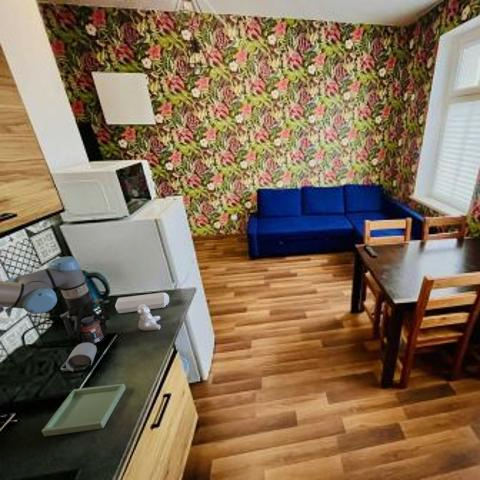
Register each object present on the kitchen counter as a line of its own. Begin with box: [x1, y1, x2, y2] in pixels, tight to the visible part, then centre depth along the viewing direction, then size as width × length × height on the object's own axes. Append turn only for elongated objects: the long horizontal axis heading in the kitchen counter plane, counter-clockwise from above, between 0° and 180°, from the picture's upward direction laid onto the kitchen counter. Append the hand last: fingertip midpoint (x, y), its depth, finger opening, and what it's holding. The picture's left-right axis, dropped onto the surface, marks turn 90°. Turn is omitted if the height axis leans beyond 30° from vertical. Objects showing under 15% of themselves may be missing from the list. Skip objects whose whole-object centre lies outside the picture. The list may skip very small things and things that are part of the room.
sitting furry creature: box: [136, 304, 162, 332], centre depth 119 cm, size 10×9×12 cm
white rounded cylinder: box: [114, 292, 170, 314], centre depth 133 cm, size 7×7×24 cm
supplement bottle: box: [80, 316, 105, 345], centre depth 111 cm, size 6×6×11 cm
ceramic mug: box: [60, 342, 98, 372], centre depth 100 cm, size 11×8×8 cm
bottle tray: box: [41, 383, 127, 437], centre depth 85 cm, size 16×14×2 cm
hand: (95, 340), depth 113 cm, fingers closed on supplement bottle, 6 cm apart
